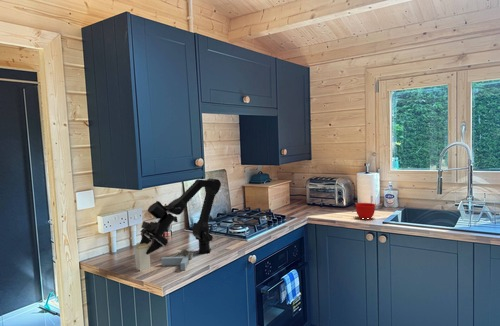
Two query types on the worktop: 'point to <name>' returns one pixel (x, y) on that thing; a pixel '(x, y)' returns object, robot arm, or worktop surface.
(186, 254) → the egg carton
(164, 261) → the corner fence
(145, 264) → the tea tin
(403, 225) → the worktop surface
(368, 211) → the ceramic cup
